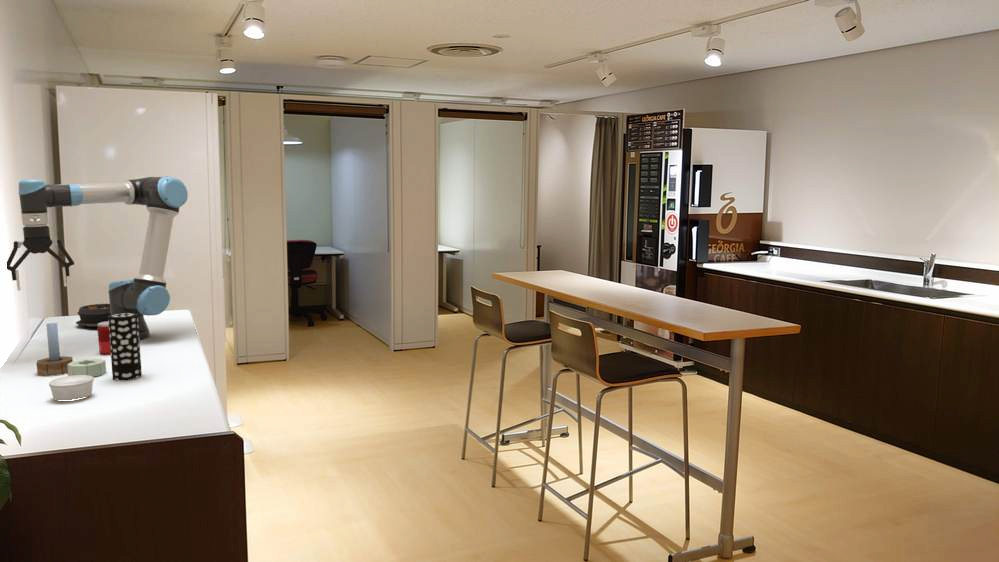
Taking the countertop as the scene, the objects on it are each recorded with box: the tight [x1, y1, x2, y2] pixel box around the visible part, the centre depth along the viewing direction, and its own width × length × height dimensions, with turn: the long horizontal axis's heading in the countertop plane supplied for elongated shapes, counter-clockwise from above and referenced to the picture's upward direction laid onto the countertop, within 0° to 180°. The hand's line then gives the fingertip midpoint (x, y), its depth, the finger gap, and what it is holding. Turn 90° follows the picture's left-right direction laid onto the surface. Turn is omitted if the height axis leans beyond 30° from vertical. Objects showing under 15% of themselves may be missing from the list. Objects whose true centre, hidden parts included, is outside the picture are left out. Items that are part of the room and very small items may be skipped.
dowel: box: [46, 322, 61, 362], centre depth 243 cm, size 3×3×16 cm
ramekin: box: [48, 375, 95, 401], centre depth 215 cm, size 11×11×5 cm
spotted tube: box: [108, 313, 143, 381], centre depth 236 cm, size 8×8×20 cm
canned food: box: [97, 321, 111, 356], centre depth 271 cm, size 8×8×11 cm
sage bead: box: [67, 358, 107, 378], centre depth 240 cm, size 10×10×4 cm
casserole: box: [75, 303, 111, 328], centre depth 323 cm, size 25×19×8 cm
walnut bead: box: [36, 355, 74, 376], centre depth 244 cm, size 10×10×4 cm
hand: (42, 288), depth 255 cm, fingers open, 13 cm apart
